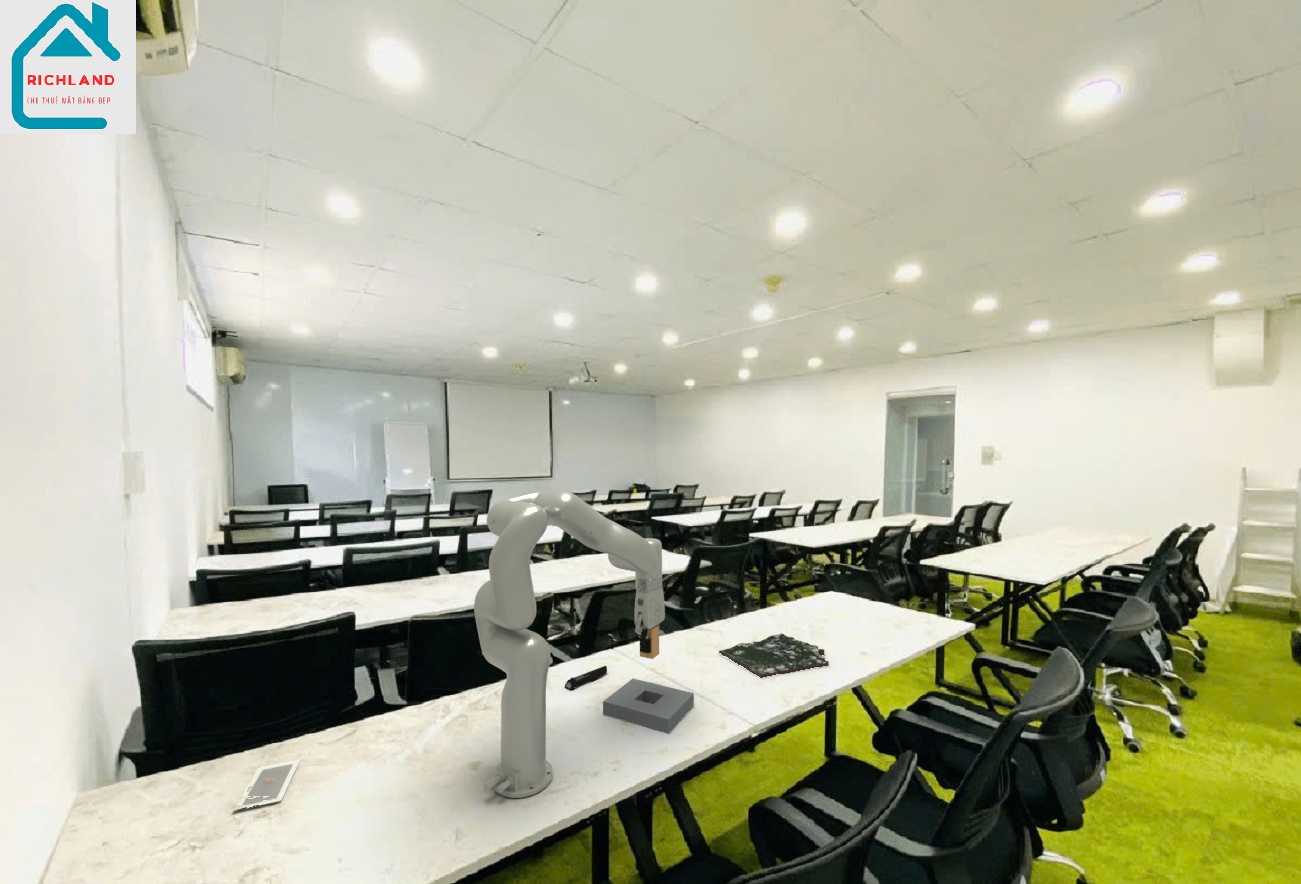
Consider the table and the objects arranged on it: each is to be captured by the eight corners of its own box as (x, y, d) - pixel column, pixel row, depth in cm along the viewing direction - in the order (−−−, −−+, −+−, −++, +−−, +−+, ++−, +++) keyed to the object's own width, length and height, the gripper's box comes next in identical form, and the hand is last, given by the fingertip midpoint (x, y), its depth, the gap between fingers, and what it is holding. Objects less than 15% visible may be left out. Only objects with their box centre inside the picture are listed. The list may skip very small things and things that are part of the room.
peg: (652, 659, 134) (652, 629, 134) (639, 656, 136) (639, 627, 136) (659, 654, 138) (658, 625, 138) (646, 651, 140) (646, 623, 140)
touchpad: (300, 764, 113) (300, 754, 113) (281, 806, 99) (281, 795, 100) (258, 772, 110) (258, 762, 110) (232, 817, 96) (233, 805, 96)
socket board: (668, 733, 124) (668, 719, 125) (603, 714, 134) (603, 701, 134) (693, 705, 139) (693, 693, 139) (632, 690, 148) (632, 678, 148)
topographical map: (719, 655, 176) (718, 646, 176) (787, 639, 191) (787, 631, 191) (768, 684, 153) (768, 674, 153) (841, 663, 168) (841, 654, 168)
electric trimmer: (609, 677, 158) (610, 667, 159) (571, 692, 147) (571, 681, 148) (602, 673, 161) (602, 663, 161) (563, 688, 150) (563, 678, 150)
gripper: (646, 592, 128) (646, 663, 128) (673, 578, 143) (674, 641, 143) (621, 589, 132) (622, 657, 131) (651, 575, 147) (651, 637, 146)
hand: (649, 648), depth 137 cm, fingers closed on peg, 4 cm apart
